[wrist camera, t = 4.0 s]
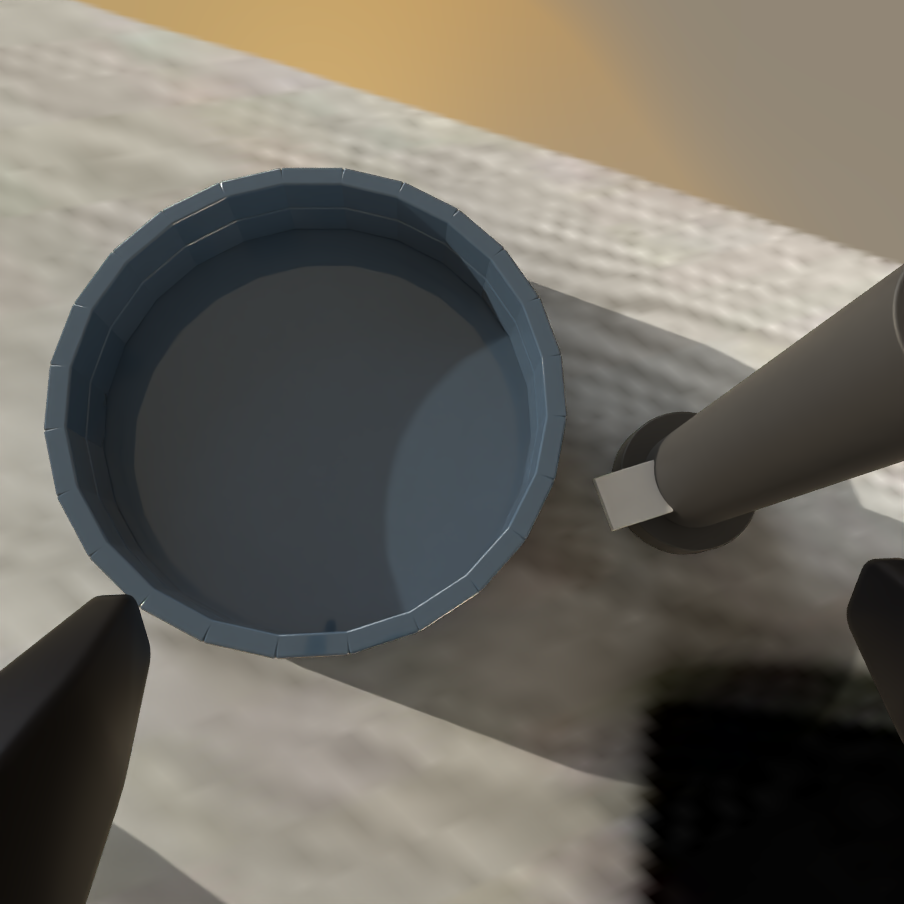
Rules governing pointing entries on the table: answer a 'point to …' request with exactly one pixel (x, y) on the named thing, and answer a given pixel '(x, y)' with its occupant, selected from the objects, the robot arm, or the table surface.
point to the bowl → (305, 412)
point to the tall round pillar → (770, 432)
